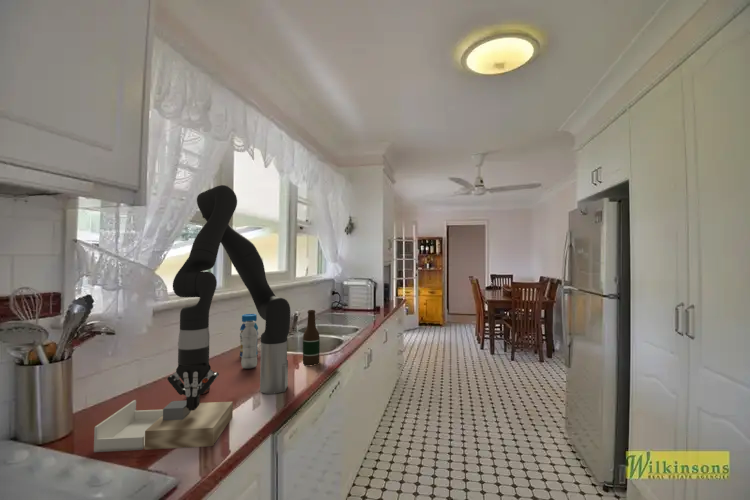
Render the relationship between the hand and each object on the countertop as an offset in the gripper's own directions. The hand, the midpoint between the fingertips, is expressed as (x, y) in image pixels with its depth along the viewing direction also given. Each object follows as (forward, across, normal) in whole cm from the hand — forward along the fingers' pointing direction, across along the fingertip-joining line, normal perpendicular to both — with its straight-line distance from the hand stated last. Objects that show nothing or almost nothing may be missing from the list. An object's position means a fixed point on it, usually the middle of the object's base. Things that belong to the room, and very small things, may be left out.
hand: (192, 409), depth 92 cm
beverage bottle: (+6, +3, -74) cm, 75 cm away
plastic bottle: (+6, -2, -55) cm, 56 cm away
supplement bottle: (+6, +9, -29) cm, 31 cm away
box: (+6, +14, 0) cm, 15 cm away
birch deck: (+6, 0, 0) cm, 6 cm away
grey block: (+2, +4, 0) cm, 4 cm away
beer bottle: (+6, -28, -59) cm, 65 cm away
